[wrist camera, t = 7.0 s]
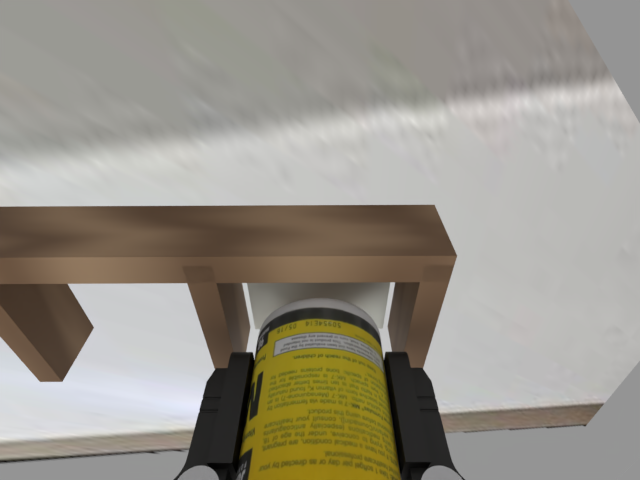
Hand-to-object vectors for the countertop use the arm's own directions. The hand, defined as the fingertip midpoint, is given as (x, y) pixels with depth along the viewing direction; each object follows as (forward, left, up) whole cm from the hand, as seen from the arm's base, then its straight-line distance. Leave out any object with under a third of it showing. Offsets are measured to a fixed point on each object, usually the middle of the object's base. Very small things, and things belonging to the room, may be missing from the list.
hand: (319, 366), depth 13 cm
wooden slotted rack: (-4, 0, -4) cm, 6 cm away
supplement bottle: (0, 0, -2) cm, 2 cm away
